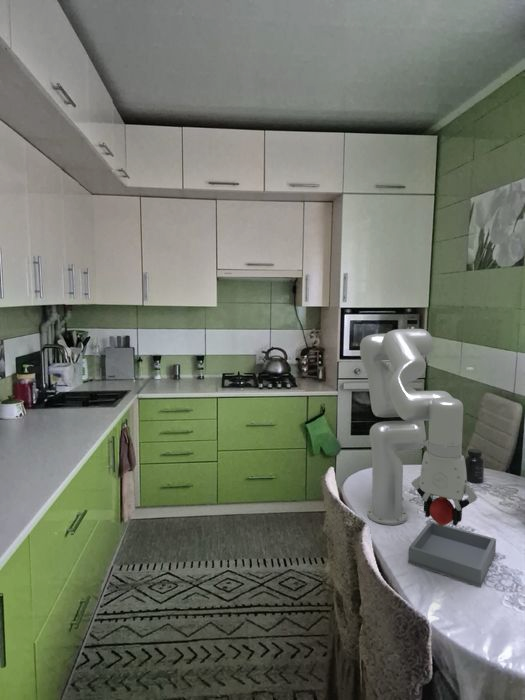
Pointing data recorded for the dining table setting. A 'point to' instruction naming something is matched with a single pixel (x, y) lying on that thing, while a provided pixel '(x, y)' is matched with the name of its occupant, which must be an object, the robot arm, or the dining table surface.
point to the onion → (441, 511)
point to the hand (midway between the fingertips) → (442, 518)
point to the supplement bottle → (474, 466)
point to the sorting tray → (453, 552)
